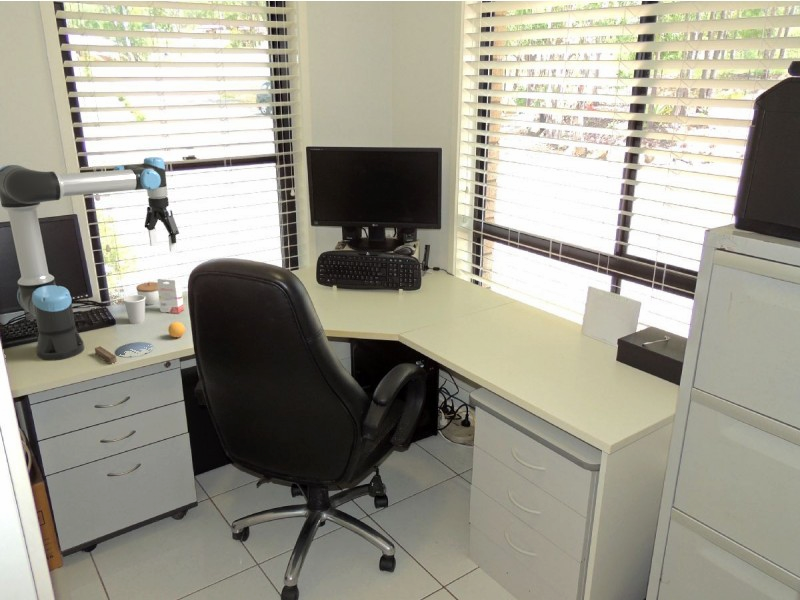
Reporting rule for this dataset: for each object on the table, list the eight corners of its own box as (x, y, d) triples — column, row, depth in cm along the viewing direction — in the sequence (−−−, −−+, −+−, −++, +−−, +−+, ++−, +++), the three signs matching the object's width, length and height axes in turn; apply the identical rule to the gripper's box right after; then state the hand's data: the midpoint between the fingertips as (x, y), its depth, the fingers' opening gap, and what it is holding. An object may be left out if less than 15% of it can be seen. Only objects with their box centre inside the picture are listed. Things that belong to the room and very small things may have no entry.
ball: (174, 341, 235) (172, 326, 233) (166, 336, 239) (164, 322, 237) (188, 336, 239) (187, 322, 237) (180, 332, 243) (179, 318, 241)
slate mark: (125, 360, 218) (125, 360, 218) (108, 349, 226) (108, 349, 226) (160, 349, 228) (160, 349, 227) (143, 339, 236) (143, 339, 236)
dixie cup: (123, 320, 254) (120, 297, 250) (144, 316, 259) (142, 293, 255) (129, 326, 248) (126, 303, 244) (151, 322, 252) (148, 299, 249)
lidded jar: (164, 297, 281) (161, 277, 278) (164, 305, 271) (162, 284, 268) (138, 299, 277) (136, 279, 274) (138, 307, 268) (135, 287, 265)
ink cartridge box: (184, 309, 267) (181, 277, 262) (178, 313, 262) (175, 280, 257) (166, 308, 268) (162, 275, 263) (160, 312, 263) (156, 279, 258)
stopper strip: (110, 364, 215) (110, 357, 214) (95, 354, 223) (94, 347, 222) (116, 362, 216) (115, 356, 216) (101, 352, 224) (100, 346, 223)
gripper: (184, 199, 246) (189, 251, 253) (148, 191, 260) (153, 241, 267) (168, 202, 240) (173, 255, 247) (131, 194, 254) (137, 244, 261)
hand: (163, 248), depth 257 cm, fingers open, 13 cm apart
